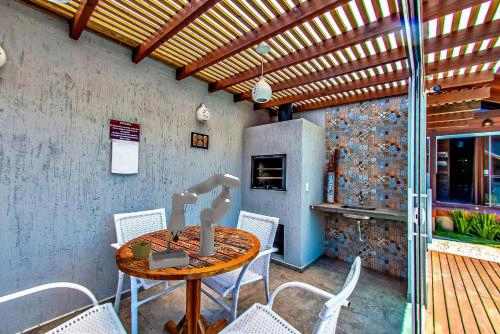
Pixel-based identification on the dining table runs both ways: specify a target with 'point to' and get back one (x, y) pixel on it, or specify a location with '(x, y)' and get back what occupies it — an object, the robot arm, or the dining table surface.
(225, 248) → the dining table surface
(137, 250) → the flower pot
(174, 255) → the breaker block
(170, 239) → the breaker lever
